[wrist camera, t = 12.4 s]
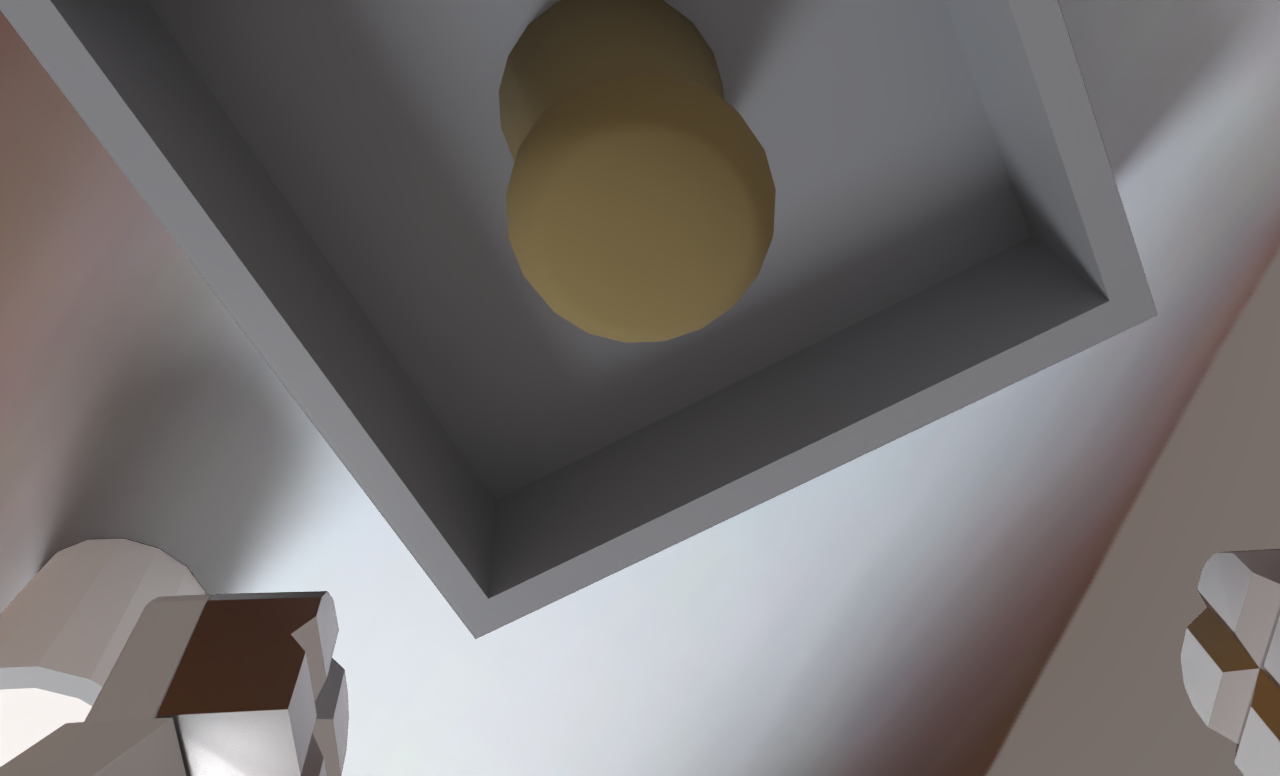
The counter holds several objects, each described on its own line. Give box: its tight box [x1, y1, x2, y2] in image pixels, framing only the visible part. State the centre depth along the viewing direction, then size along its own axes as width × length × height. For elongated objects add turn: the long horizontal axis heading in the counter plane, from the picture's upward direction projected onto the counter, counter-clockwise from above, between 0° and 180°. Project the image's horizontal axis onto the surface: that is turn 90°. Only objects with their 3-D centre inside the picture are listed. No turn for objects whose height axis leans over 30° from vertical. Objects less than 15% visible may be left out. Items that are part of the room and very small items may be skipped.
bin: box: [0, 0, 1157, 639], centre depth 28 cm, size 20×20×6 cm
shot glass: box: [0, 538, 206, 767], centre depth 34 cm, size 7×7×7 cm
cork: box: [499, 0, 776, 343], centre depth 25 cm, size 6×6×11 cm
